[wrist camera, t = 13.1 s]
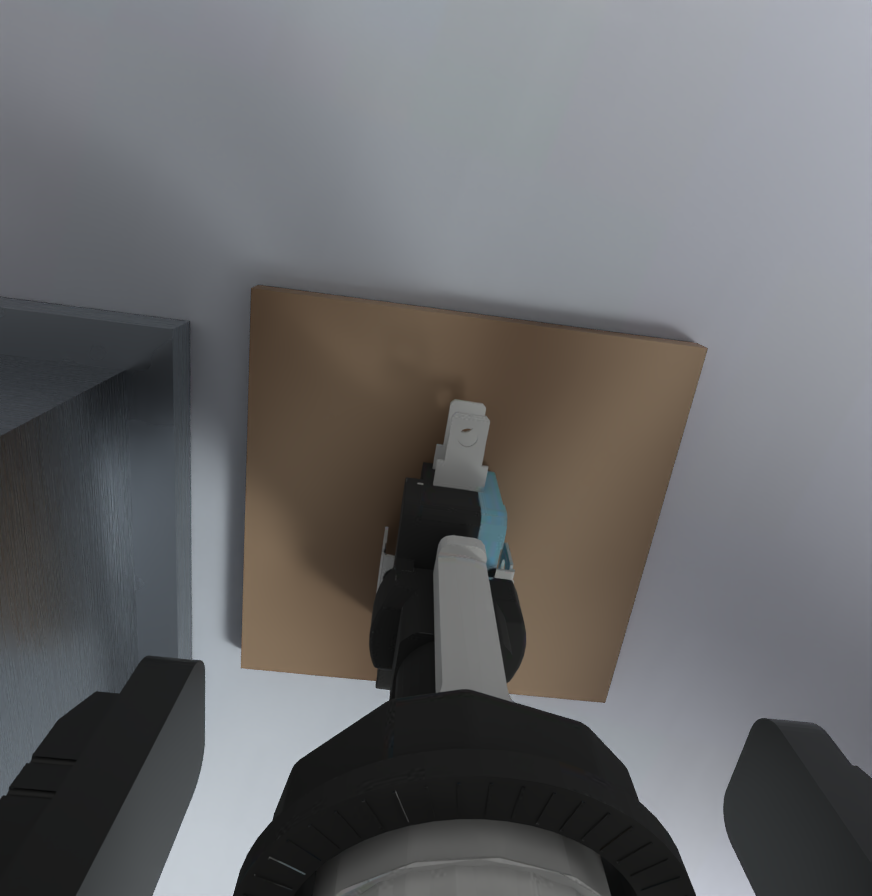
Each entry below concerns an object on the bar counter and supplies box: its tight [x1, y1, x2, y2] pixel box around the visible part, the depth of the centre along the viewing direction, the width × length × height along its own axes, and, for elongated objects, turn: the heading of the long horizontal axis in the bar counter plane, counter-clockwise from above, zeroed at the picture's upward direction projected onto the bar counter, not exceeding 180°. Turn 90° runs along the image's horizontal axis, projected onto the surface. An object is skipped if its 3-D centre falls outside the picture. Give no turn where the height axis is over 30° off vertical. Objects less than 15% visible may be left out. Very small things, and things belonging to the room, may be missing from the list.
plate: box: [241, 285, 708, 703], centre depth 15 cm, size 10×10×1 cm
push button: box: [233, 399, 696, 896], centre depth 11 cm, size 7×5×10 cm
